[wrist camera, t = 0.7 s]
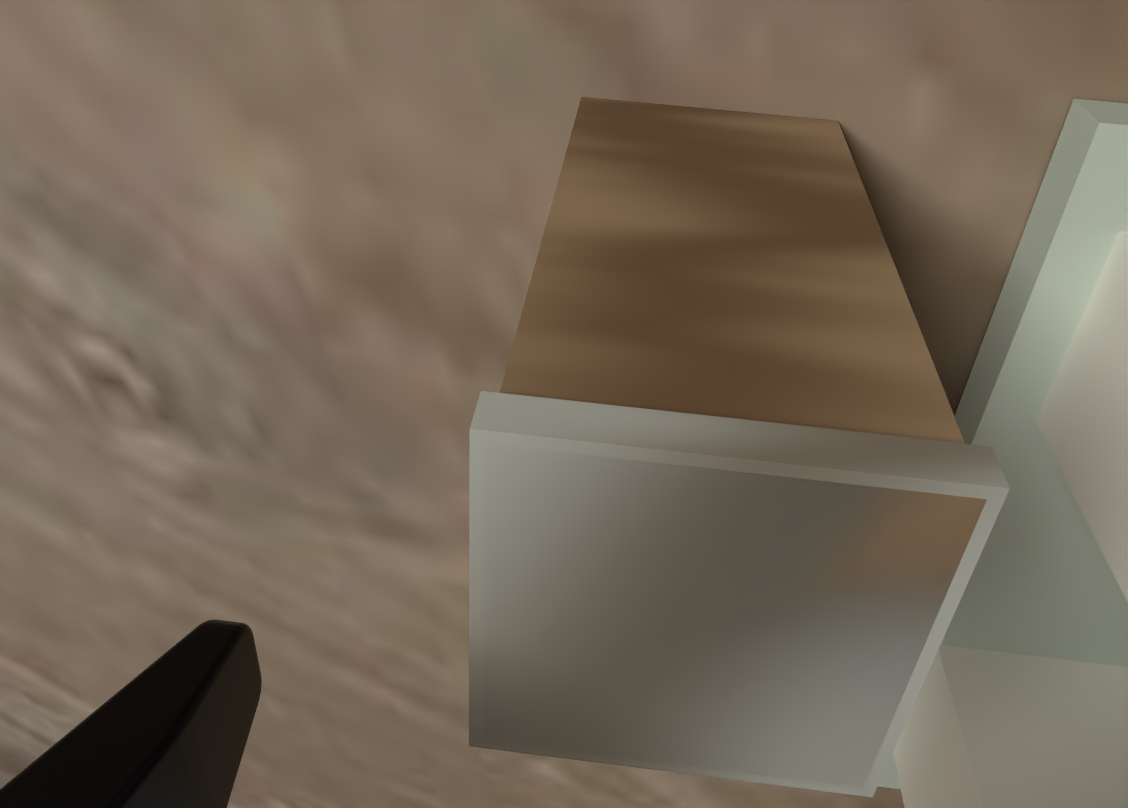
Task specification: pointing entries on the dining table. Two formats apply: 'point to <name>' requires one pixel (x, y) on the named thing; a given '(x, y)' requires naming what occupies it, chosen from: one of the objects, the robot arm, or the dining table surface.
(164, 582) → the dining table surface
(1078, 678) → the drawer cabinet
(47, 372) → the dining table surface
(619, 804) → the dining table surface
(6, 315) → the dining table surface
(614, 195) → the peg
